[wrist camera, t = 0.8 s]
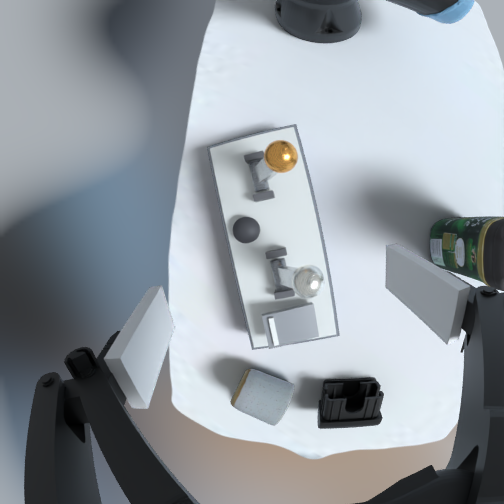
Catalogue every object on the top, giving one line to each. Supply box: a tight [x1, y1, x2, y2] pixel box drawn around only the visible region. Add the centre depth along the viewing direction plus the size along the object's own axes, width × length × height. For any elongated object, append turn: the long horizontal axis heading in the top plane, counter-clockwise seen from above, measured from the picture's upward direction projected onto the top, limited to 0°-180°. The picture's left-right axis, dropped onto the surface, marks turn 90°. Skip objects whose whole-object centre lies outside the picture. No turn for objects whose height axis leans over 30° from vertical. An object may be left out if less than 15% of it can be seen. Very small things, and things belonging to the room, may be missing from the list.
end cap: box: [318, 378, 384, 429], centre depth 36 cm, size 10×7×7 cm
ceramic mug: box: [231, 369, 294, 425], centre depth 38 cm, size 11×8×8 cm
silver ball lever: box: [270, 258, 325, 299], centre depth 29 cm, size 3×4×10 cm
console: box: [207, 124, 339, 350], centre depth 36 cm, size 12×28×7 cm, turn 13°
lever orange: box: [248, 140, 298, 192], centre depth 28 cm, size 3×4×10 cm
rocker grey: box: [261, 302, 319, 349], centre depth 32 cm, size 6×4×1 cm
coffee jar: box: [430, 217, 504, 291], centre depth 25 cm, size 10×8×19 cm
